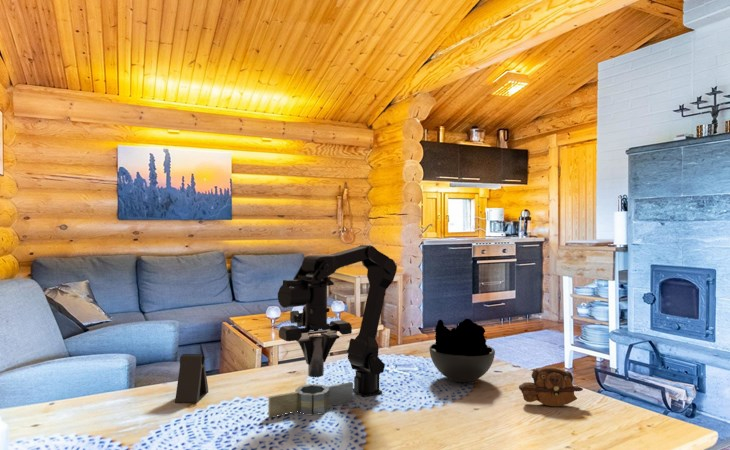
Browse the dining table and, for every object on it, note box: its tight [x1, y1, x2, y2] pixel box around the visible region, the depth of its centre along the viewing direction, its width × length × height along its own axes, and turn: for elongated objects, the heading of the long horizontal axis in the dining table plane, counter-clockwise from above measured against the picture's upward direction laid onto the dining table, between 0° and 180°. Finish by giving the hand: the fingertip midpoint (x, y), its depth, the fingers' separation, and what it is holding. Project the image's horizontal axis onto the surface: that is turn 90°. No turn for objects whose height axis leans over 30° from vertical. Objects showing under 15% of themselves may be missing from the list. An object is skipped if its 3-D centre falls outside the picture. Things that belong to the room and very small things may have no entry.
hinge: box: [267, 381, 354, 418], centre depth 128 cm, size 24×8×5 cm, turn 120°
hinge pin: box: [307, 334, 325, 378], centre depth 128 cm, size 4×4×10 cm
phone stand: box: [174, 353, 209, 404], centre depth 136 cm, size 9×6×12 cm, turn 178°
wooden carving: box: [518, 366, 584, 407], centre depth 131 cm, size 16×5×10 cm, turn 89°
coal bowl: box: [428, 318, 496, 383], centre depth 152 cm, size 20×20×19 cm
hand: (315, 363), depth 128 cm, fingers closed on hinge pin, 4 cm apart
